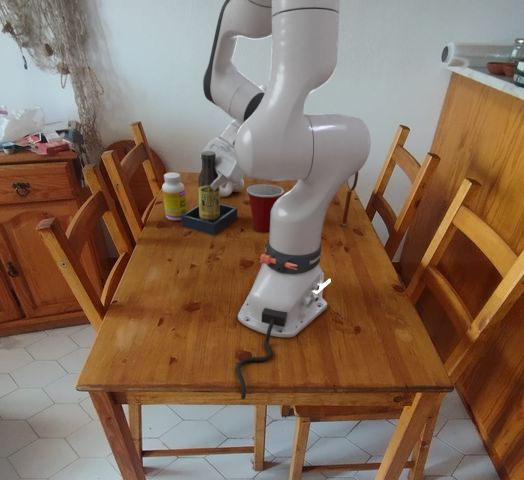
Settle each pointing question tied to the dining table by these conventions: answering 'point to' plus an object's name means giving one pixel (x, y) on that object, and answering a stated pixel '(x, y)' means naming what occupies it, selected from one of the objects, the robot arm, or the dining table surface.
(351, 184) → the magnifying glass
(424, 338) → the dining table surface
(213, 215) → the sauce bottle
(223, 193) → the white knot sculpture
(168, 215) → the supplement bottle
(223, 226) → the tray
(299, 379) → the dining table surface
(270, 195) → the plastic cup
